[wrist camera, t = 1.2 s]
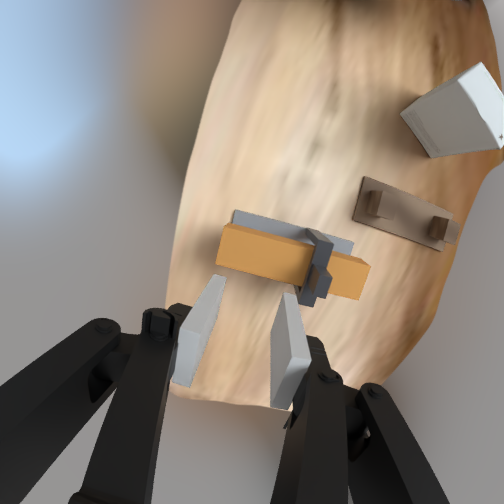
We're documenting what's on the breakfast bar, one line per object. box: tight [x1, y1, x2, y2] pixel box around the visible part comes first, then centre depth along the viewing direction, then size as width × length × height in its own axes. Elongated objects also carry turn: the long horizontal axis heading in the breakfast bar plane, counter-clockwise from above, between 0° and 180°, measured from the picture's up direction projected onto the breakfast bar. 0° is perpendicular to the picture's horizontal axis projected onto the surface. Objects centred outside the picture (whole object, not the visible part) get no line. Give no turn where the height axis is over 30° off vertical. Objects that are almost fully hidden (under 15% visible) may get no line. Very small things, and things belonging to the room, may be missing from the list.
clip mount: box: [232, 210, 354, 255], centre depth 34 cm, size 6×16×4 cm, turn 75°
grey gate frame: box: [294, 228, 334, 307], centre depth 29 cm, size 7×2×12 cm, turn 166°
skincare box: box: [400, 62, 504, 158], centre depth 23 cm, size 8×7×16 cm
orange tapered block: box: [215, 223, 371, 300], centre depth 30 cm, size 4×16×4 cm, turn 76°
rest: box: [353, 176, 461, 252], centre depth 32 cm, size 6×16×4 cm, turn 75°
